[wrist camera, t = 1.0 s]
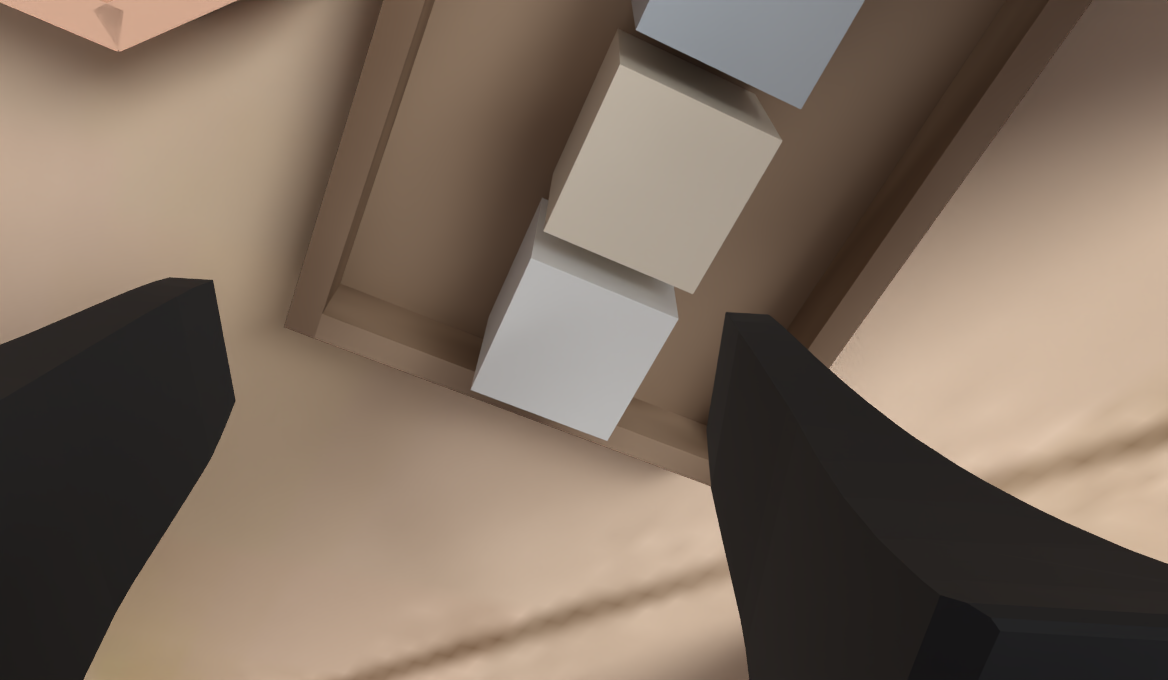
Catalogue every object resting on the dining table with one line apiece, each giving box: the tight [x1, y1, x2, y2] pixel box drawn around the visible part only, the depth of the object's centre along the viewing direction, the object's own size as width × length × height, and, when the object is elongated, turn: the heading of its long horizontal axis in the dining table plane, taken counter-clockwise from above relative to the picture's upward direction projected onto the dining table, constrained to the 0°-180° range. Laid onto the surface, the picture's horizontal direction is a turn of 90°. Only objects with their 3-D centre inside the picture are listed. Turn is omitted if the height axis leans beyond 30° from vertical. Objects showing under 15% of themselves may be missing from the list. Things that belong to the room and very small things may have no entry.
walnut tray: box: [284, 0, 1092, 486], centre depth 19 cm, size 12×16×2 cm
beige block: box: [543, 29, 782, 294], centre depth 18 cm, size 3×4×3 cm
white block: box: [471, 198, 679, 441], centre depth 20 cm, size 3×4×3 cm
